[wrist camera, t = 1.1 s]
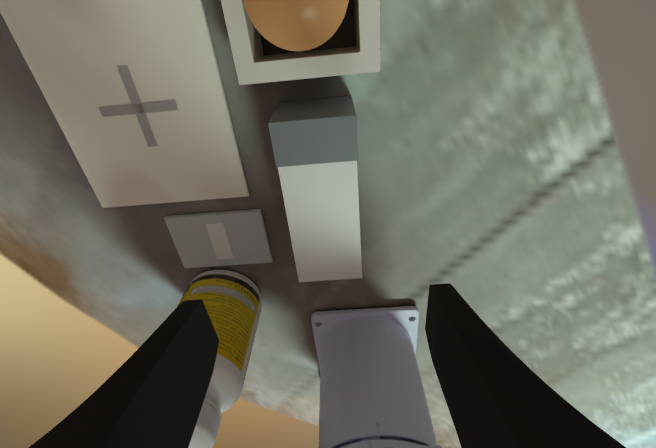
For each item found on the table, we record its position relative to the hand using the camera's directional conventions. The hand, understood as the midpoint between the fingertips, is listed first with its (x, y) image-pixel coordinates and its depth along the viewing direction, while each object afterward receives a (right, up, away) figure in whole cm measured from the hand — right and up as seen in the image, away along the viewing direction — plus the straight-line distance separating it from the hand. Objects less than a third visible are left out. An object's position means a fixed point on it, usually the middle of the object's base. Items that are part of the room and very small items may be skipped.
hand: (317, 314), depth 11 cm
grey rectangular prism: (0, +5, +9) cm, 10 cm away
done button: (-1, +12, +3) cm, 13 cm away
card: (-7, +2, +11) cm, 13 cm away
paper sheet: (-9, +9, +6) cm, 14 cm away
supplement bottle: (-7, -2, +14) cm, 16 cm away
